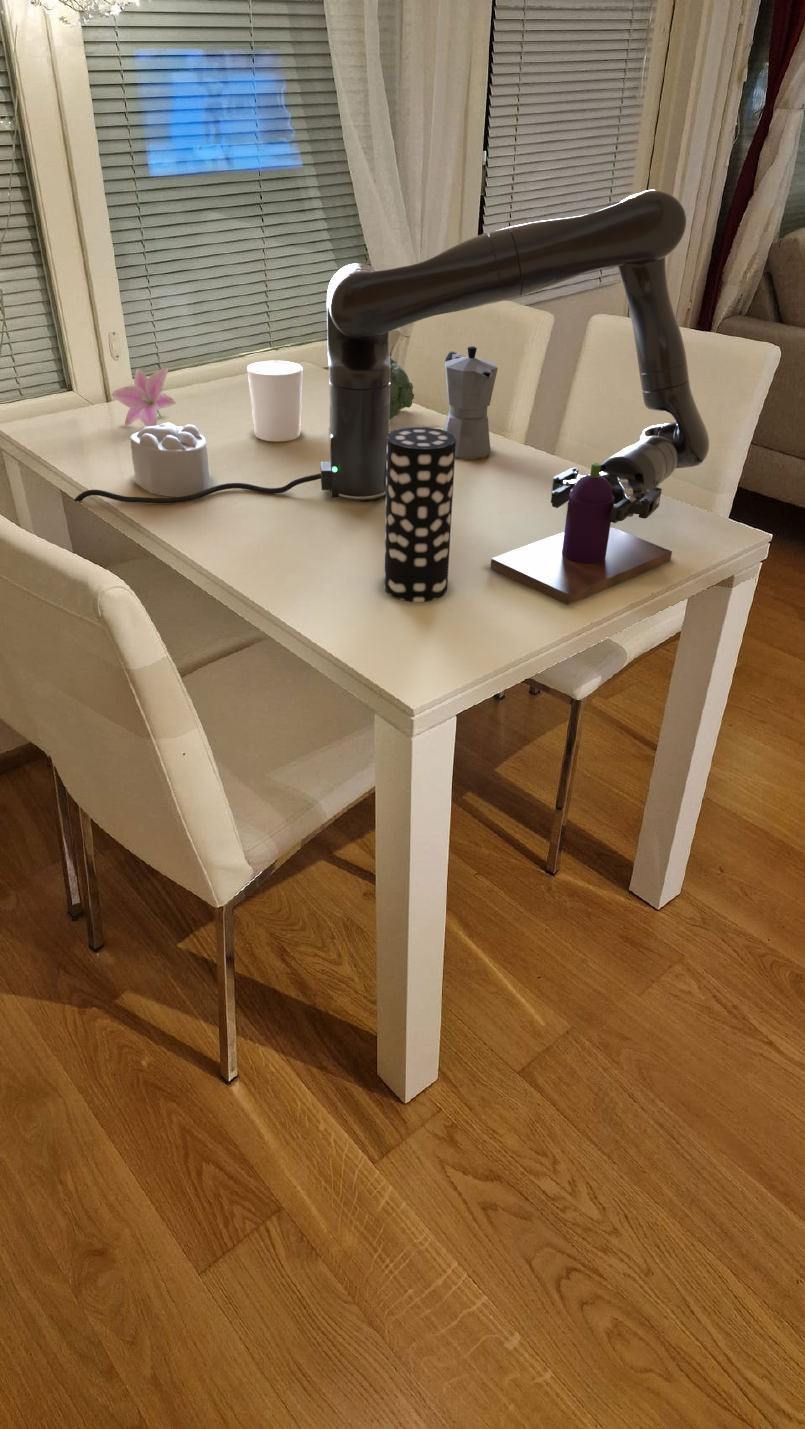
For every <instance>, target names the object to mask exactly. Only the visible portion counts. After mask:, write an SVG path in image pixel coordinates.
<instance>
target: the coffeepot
mask: <svg viewBox="0 0 805 1429" xmlns="http://www.w3.org/2000/svg"><path fill="white" fill-rule="evenodd" d="M477 349H478V347H477V346H473V345H471V346H467V356H464V355H462V354H460V353H458V352H456V351H453V350H451V351H449V352H448V354H447V355H446V356H445V359H444V368H445V369H444V370H445V380H446V391H447V403H448V405H449V406H448V407H449V410H448V413H447V416H446V420H445V425H444V429H443V430H444V431H447V432H449V433H451V434H453V435H454V436H455V438H456V446H455V459H460V460H477V459H482V458H485V457H488V456H489V455H490V454H491V453H492V452H491V440H490V427H489V417H488V408H489V407H490V405H491V401H492V397H493V391H494V388H495V383H496V378H497V374H498V365H497V364H496V362H495V361H491V360H486V359H483V358H478V357H476V353H477Z"/></svg>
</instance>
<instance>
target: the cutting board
mask: <svg viewBox="0 0 805 1429" xmlns="http://www.w3.org/2000/svg"><path fill="white" fill-rule="evenodd" d="M564 532H565V531H562V532H559V533H557V534H554V535H551V536H549V537H546V538H543V539H540V540H538V541H534V542H532V543H530V544H527V545H524V546H521V547H519V548H516V549H512V550H510V551H508V552H505V553H502V554H499V555H496V556H494V557H491V559H490V569H491V570H493V571H495V572H498V573H499V574H500V575H501V574H502V575H503V576H505V577H508V578H510V579H511V580H514V581H516V582H518V583H520V584H522V585H525V586H527V587H529V588H530V589H533V590H535V591H537V592H539V593H541V594H543V595H545V596H547V597H550V598H552V599H554V600H555V601H558V602H560V603H562V604H564V605H566V606H569V605H572V604H574V603H576V602H579V601H581V600H583V599H585V598H588V597H591V596H593V595H595V594H597V593H600V592H602V591H604V590H606V589H608V588H611V587H613V586H616V585H618V584H621V583H622V582H625V581H627V580H629V579H632V578H635V577H636V576H639V575H641V574H643V573H647V572H648V571H650V570H652V569H655V568H657V567H660V566H663V565H664V564H667V563H669V562H671V560H672V554H673V550H670V549H668V548H665V547H663V546H661V545H658V544H655V543H653V542H650V541H648V540H645V539H643V538H640V537H637V536H635V535H632V534H630V533H627V532H626V531H622V530H620V529H617V528H615V527H613V526H610V531H609V537H608V544H607V550H606V557H605V559H604V560H603V561H601V562H597V563H578V562H574V561H571V560H569V559H567V558H565V557H564V556H563V554H562V548H563V540H564Z"/></svg>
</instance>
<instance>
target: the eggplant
mask: <svg viewBox="0 0 805 1429" xmlns="http://www.w3.org/2000/svg"><path fill="white" fill-rule="evenodd" d="M600 467H601V463H598V462H593V463H591V467H590V472H589V474H590V475H588V474H585V475H586V476H584V475H583V476H584V477H582V478H580V479H579V480H578V481H577V482H576V484H575V485H574V487H573V489H571V492H570V493H569V500H568V501H567V508H566V516H565V523H564V524H565V525H564V531H563V532H564V540H563V548H562V554H563V556H564V557H565V558H567V559H569V560H571V561H574V562H578V563H597V562H601V561H603V560H604V559H605V557H606V550H607V544H608V537H609V531H610V527H611V525H612V522H610V518H611V511H612V508H613V505H614V496H613V492H612V488H611V485H610V483H609V482H608V481H607V480H606V479H605V478H604V477H602V476H600V475H599V474H600Z"/></svg>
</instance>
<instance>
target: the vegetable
mask: <svg viewBox="0 0 805 1429" xmlns="http://www.w3.org/2000/svg"><path fill="white" fill-rule="evenodd" d="M413 389H414V386H413V383H412V382H411V381H410V379H409V375H408V373H407V372H406V370H405V369H404V368H403V367H402V366H400V365H399V364H398V363H397V361H396V360H394V359H393V358H392V357H390V415H389V422H390V421H391V420H392V419H393V418H394V417H396V416H397V415H398V414H399V411H402V410H403V409H405V408H408V409H409V408H411V407H412V405H413V400H414V398H415V393H414V392H413Z"/></svg>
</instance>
